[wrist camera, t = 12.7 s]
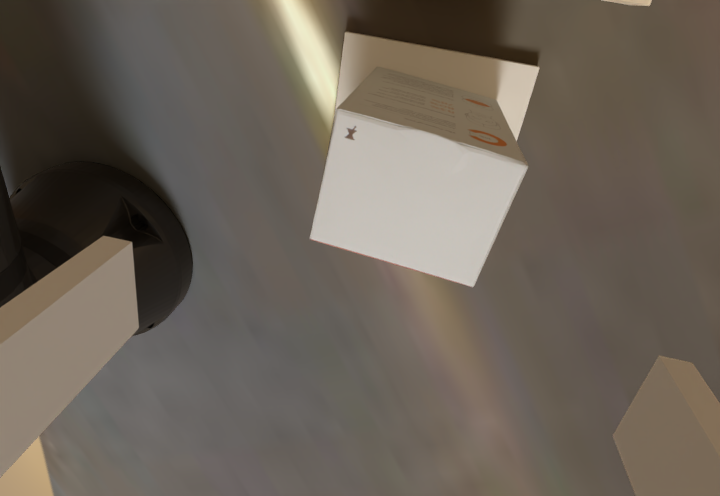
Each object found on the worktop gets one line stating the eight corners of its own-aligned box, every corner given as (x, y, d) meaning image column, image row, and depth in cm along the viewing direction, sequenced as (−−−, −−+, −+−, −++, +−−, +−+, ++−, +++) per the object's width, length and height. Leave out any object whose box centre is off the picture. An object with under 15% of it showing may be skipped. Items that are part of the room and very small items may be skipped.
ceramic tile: (328, 179, 35) (325, 182, 35) (347, 31, 31) (345, 32, 30) (492, 212, 35) (493, 217, 34) (537, 65, 30) (539, 67, 29)
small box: (352, 158, 34) (304, 240, 22) (376, 64, 31) (333, 103, 19) (465, 191, 33) (475, 291, 22) (500, 99, 30) (532, 160, 19)
